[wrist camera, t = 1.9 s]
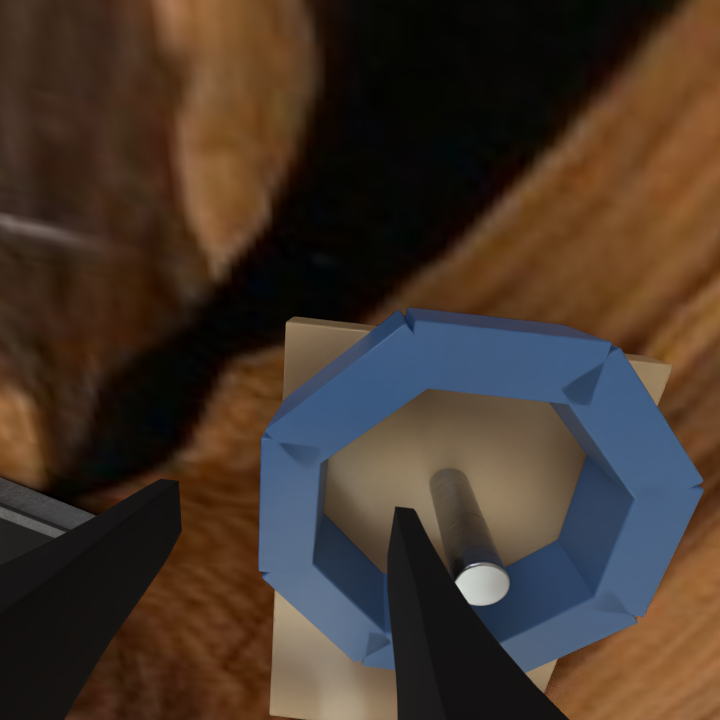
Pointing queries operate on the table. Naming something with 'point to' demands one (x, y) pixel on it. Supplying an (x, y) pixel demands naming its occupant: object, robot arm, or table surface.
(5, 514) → the phone
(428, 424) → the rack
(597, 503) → the ring
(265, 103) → the table surface
